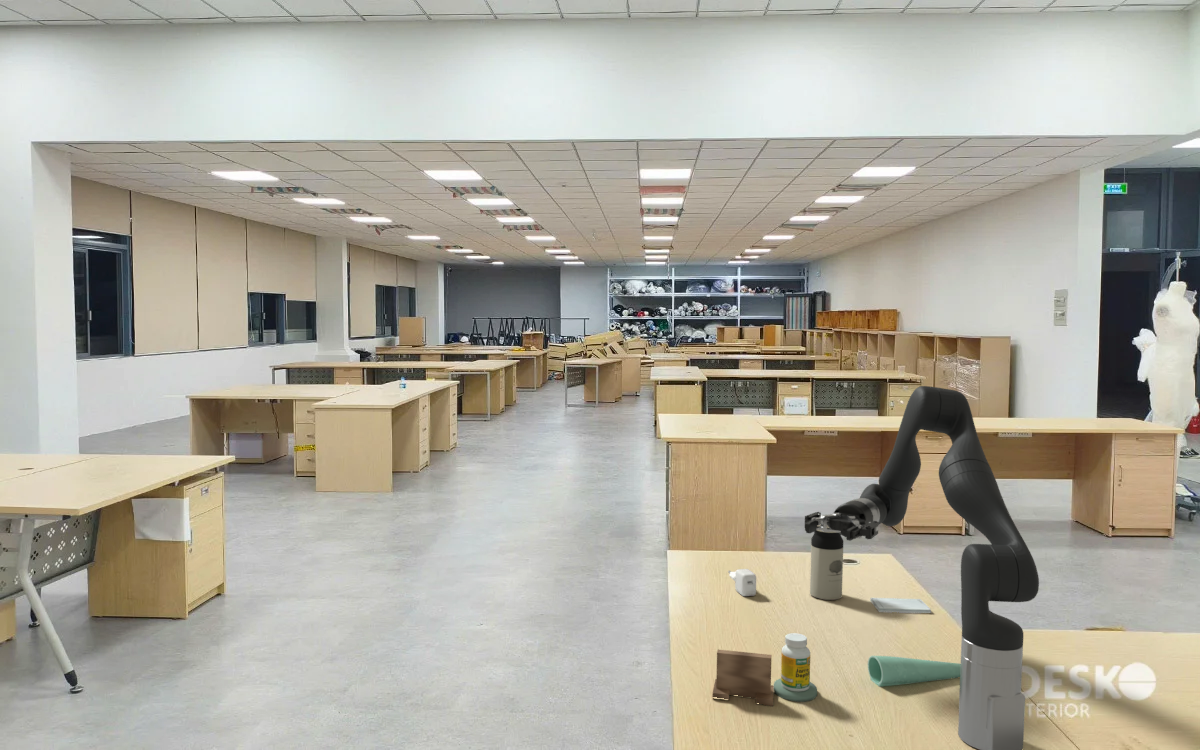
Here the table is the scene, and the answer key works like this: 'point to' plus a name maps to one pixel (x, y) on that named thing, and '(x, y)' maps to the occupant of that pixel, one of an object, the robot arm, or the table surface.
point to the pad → (795, 696)
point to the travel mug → (826, 565)
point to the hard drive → (900, 605)
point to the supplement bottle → (795, 663)
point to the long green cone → (909, 670)
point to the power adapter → (744, 581)
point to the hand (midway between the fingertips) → (827, 531)
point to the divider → (744, 676)
